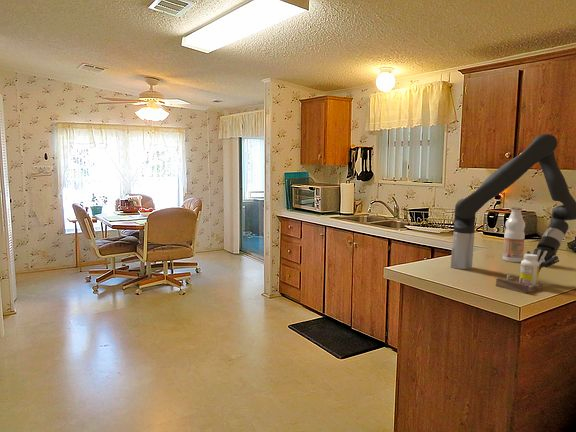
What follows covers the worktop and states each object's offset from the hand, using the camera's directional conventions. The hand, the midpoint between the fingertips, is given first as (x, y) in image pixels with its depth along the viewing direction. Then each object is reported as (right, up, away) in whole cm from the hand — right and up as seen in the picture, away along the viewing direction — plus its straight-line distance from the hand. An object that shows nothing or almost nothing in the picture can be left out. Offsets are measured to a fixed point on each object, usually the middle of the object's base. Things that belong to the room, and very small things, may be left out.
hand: (534, 272), depth 174 cm
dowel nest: (-9, -5, -5) cm, 12 cm away
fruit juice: (+15, 0, +45) cm, 48 cm away
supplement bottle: (-3, -5, -2) cm, 6 cm away
